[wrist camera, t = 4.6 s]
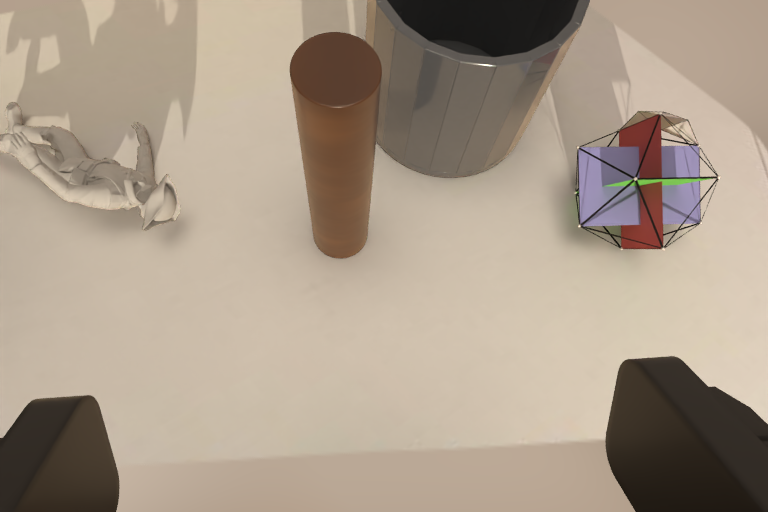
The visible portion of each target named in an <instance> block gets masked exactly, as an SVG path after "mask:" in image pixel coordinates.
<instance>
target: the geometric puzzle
mask: <svg viewBox="0 0 768 512" xmlns="http://www.w3.org/2000/svg"><path fill="white" fill-rule="evenodd" d="M661 130H663V131H665V132H667V133H670V134H672V135H675V136H677V137H679V138H682V139H684V140H685V141H686V140H687V141H689V142H691V143H694V144H689V143H688V142H687V141H686V142H687V143H684V142H679V141H674V140H669V139H663V138H661ZM616 132H617V133H616ZM616 132H614V133H616V135H617V134H618V133H619V147H609V145H610V144H611V143H612V141H613V140H614V138H615V137H616V135H615V136H614V138H613V139H612V141H611V142H610V143H609V145H608V146H607V147H582V146H580V147H579V146H577V149H578V152H577V165H578V185H579V188H578V189H577V191H578V190H579V192H577V191H575V192H574V194H577V195H576V201H577V196H578V197H579V212H578V218H579V225H578V227H582V228H583V229H585V228H587V227H583V226H603V227H604V226H614V225H621V236H617V235H613V234H610V233H609V231H608V230H607V229H606V228H605V227H604V229H605V230H606V231H607V232H608V233H606V232H602V231H598V230H595V229H591V228H587V229H590V230H594V231H598V232H602V233H605V234H609V235H610V236H611V237H612V238H613V236H616V237H620V238H621V246H620V245H619V244H618V242H617V241H616V240H615V239H614V238H613V240H614V241H615V242H616V243H617V244H618V246H619V248H620V250H623V249H662V250H665V248H666V247H667V246H666V245H667V244H668V243H669V242H670V240H671V239H672V238H673V236H674V235H675V234H676V233H677V231H679V230H682V229H685V228H688V227H691V226H694V225H696V226H697V224H698V225H699V224H702V222H701V221H702V220H701V214H700V202H701V200H702V199H703V198H704V197H705V195H706V194H707V193H708V191H709V190H710V189H711V188H712V186H713V185H714V184H715V182H716V181H717V180H718V179H720V178H721V176H718V175H717V173H715V172H716V171H715V170H714V171H715V172H714V171H713V170H712V169H711V168H710V166H709V165H708V164H707V163H706V162H705V161H704V160H703V159H702V158H701V157H700V156H699V147H700V146H701V145H700V144H698V142H697V140H696V137H695V135H694V133H693V130H692V128H691V125H690V123H689V121H688V120H687V119H684V118H681V117H678V116H675V115H672V114H669V113H666V112H651V111H638V112H637V113H636V114H635V115H634V116H633V117H632V118H631V119H630V120H629V121H628V122H627V123H626V124H625V125H624V126H623V127H622V128H621V129H618V131H616ZM612 134H613V133H612ZM609 135H611V134H609ZM609 135H607V136H609ZM604 137H606V136H604ZM604 137H602V138H604ZM599 139H601V138H599ZM599 139H597V140H599ZM661 139H662V140H668V141H673V142H678V143H683V144H688V145H689V146H661ZM595 141H596V140H595ZM592 142H594V141H592ZM592 142H590V143H592ZM587 144H589V143H587ZM587 144H585V145H587ZM695 144H696V145H695ZM690 145H694V146H690ZM583 146H584V145H583ZM700 149H701V148H700ZM702 152H703V151H702ZM704 155H705V154H704ZM699 157H700V158H701V159H702V160H703V161H704V162H705V163H706V164H707V165H708V167H709V168H710V169H711V170H712V171H713V172H714V173H715V174H716V175H717V177H700V158H699ZM705 157H706V156H705ZM706 158H707V157H706ZM707 160H708V159H707ZM708 161H709V160H708ZM709 163H710V162H709ZM711 166H712V165H711ZM712 168H713V167H712ZM713 169H714V168H713ZM713 178H717V179H716V181H715V182H714V183H713V185H712V186H711V187H710V188H709V190H708V191H707V192H706V194H705V195H704V196H703V197H702V199H701V200H700V181H702V180H707V179H713ZM717 182H718V181H717ZM576 184H577V172H576ZM716 184H717V183H716ZM715 186H716V185H715ZM714 189H715V188H714ZM713 191H714V190H713ZM578 194H579V195H578ZM712 194H713V193H712ZM711 196H712V195H711ZM710 199H711V198H710ZM709 201H710V200H709ZM708 204H709V203H708ZM707 206H708V205H707ZM577 210H578V203H577ZM705 211H706V210H705ZM704 213H705V212H704ZM703 216H704V215H703ZM702 218H703V217H702ZM690 223H697V224H694V225H691V226H688V227H684V228H681V229H680V227H681V226H682V225H683V224H690ZM663 224H681V226H680V227H679V228H678V230H675V231H672V232H669V233H673V232H675V233H674V235H673V236H672V237H671V239H670V240H669V241H668V242H667V244H666V245H665V246H664V247H663V235H666V234H669V233H666V234H663ZM696 226H695V227H696ZM587 229H585V230H587ZM692 229H693V228H692ZM587 231H588V230H587ZM689 231H690V230H689ZM689 231H688V232H689ZM589 232H590V231H589ZM591 233H592V232H591ZM686 233H687V232H686ZM686 233H685V234H686ZM593 234H594V233H593ZM595 235H596V234H595ZM612 235H613V236H612ZM683 235H684V234H683ZM683 235H682V236H683ZM597 236H598V235H597ZM598 237H600V236H598ZM600 238H602V237H600ZM679 238H680V237H679ZM679 238H678V239H679ZM602 239H603V238H602ZM604 240H605V239H604ZM676 240H677V239H676ZM676 240H675V241H676ZM606 241H607V240H606ZM608 242H609V241H608ZM673 242H674V241H673ZM673 242H672V243H673ZM610 243H611V242H610ZM612 244H613V243H612ZM670 244H671V243H670ZM670 244H669V245H670ZM613 245H615V244H613ZM615 246H617V245H615ZM618 246H617V247H618Z"/></svg>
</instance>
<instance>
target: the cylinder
mask: <svg viewBox="0 0 768 512" xmlns="http://www.w3.org/2000/svg"><path fill="white" fill-rule="evenodd" d="M290 77H291V84H292V91H293V98H294V104H295V111H296V118H297V125H298V132H299V139H300V146H301V153H302V160H303V167H304V174H305V180H306V187H307V194H308V201H309V208H310V215H311V222H312V229H313V236H314V240H315V243H316V245H317V247H318V248H319V249H320V250H321V251H322V252H323V253H325V254H326V255H328V256H331V257H334V258H347V257H350V256H353V255H355V254H356V253H358V252H359V251H360V250H361V249H362V248H363V246H364V245H365V243H366V240H367V234H368V223H369V212H370V201H371V190H372V178H373V167H374V156H375V145H376V134H377V123H378V112H379V101H380V90H381V79H382V66H381V62H380V59H379V57H378V55H377V53H376V52H375V50H374V49H373V48H372V47H371V46H370V45H369V44H368V43H367V42H365V41H364V40H362V39H361V38H358V37H356V36H354V35H351V34H347V33H341V32H329V33H323V34H319V35H316V36H314V37H312V38H310V39H308V40H306V41H305V42H304V43H303V44H301V45H300V47H299V48H298V49H297V50H296V52H295V53H294V55H293V57H292V60H291V63H290Z"/></svg>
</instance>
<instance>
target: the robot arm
mask: <svg viewBox="0 0 768 512" xmlns="http://www.w3.org/2000/svg"><path fill="white" fill-rule="evenodd" d="M606 452H607V457H608V461H609V464H610V467H611V470H612V472H613V474H614V476H615V478H616V480H617V481H618V483H619V485H620V486H621V488H622V490H623V491H624V493H625V495H626V496H627V498H628V500H629V501H630V503H631V505H632V506H633V508H634V510H635V511H636V512H768V424H767V423H766V422H765V421H764V420H762V419H761V418H760V417H759V416H758V415H757V414H756V413H755V412H754V411H753V410H752V409H751V408H750V407H748V406H746V405H745V404H743V403H741V402H740V401H738V400H736V399H735V398H733V397H731V396H730V395H728V394H726V393H725V392H723V391H721V390H720V389H718V388H716V387H708V386H707V385H706V384H705V383H704V382H703V381H702V380H701V379H700V378H699V377H698V376H697V375H696V374H695V373H694V372H693V371H692V370H691V369H690V368H689V367H688V366H687V365H686V364H685V363H684V362H683V361H682V360H681V359H679V358H677V357H674V356H670V357H656V358H642V359H627V360H625V361H624V362H623V363H622V364H621V366H620V368H619V371H618V375H617V381H616V386H615V391H614V396H613V401H612V406H611V411H610V416H609V422H608V427H607V432H606ZM118 499H119V476H118V471H117V467H116V464H115V460H114V457H113V453H112V449H111V446H110V442H109V439H108V435H107V432H106V428H105V425H104V421H103V418H102V414H101V410H100V407H99V404H98V402H97V400H96V399H95V398H94V397H93V396H90V395H86V396H72V397H57V398H43V399H35V400H33V401H31V402H30V403H29V404H28V405H27V406H26V407H25V408H24V410H23V411H22V413H21V414H20V415H19V417H18V418H17V419H16V421H15V422H14V424H13V425H12V426H11V428H10V429H9V430H8V432H7V433H6V435H5V436H4V437H3V438H0V512H116V510H117V505H118Z"/></svg>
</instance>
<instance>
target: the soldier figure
mask: <svg viewBox="0 0 768 512" xmlns="http://www.w3.org/2000/svg"><path fill="white" fill-rule="evenodd" d="M5 116H6V118H7V119H8V129H6V131H5V134H0V152H3V153H9V154H12V156H14V157H16V158H17V160H18V161H19V162H20V163H21V164H22V165H23V166H24V167H25V168H27V169H28V170H29V171H31V172H32V173H33V174H34V175H35V176H36V177H37V178H39V179H40V180H41V181H42V182H43V183H44V184H45V185H46V186H48V187H49V188H50V189H51V190H52V191H53V192H55V193H56V194H57V195H58V196H59V197H60V198H62V199H63V200H65V201H68V202H76V203H80V204H82V205H85V206H89V207H95V208H99V209H100V208H102V209H107V210H113V209H120V208H125V209H126V210H128V209H131V207H137V206H139V207H140V210H141V216H142V218H144V224H143V228H142V230H143V231H146V230H149V229H151V228H152V227H155V226H158V225H161V224H164V223H167V222H169V221H175V220H176V218H177V216H178V215H179V213H180V210H181V207H180V204H179V201H178V196H177V191H176V188H175V186H174V184H173V182H172V181H171V179H170V177H169V175H168V174H166V175H167V176H166V175H165V177H164V178H163V179H162V181H161V182H160V184H159V185H158V184H156V182H155V179H154V170H153V162H152V156H151V148H150V146H149V140H148V134H147V131H146V129H145V127H144V126H143V125H142V124H140V123H138V122H137V123H134V124H135V125H136V126H137V128H138V129H137V128H136V127H135V126H134V125H131V126H132V127H133V128H134V129H135V130H136V133H137V138H138V141H139V143H140V146H139V147H138V155H137V160H138V161H137V165H136V170H133V169H131V168H126V167H122V166H120V164H119V163H118V162H116V161H115V160H112V159H107V158H104V160H102V161H101V160H93V159H89V158H88V157H87V155H86V153H85V151H84V149H83V147H82V145H81V144H80V143H79V141H78V140H77V139H76V137H75V136H74V135H73V134H72V133H71V132H69V131H68V130H65V129H63V128H61V127H56V126H51V127H31V126H24V125H23V124H22V113H21V108H20V106H19V105H18V104H17V103H15V102H11V103H9V104H8V105H7V107H6V110H5ZM31 142H32V143H31ZM33 143H35V144H33ZM36 144H46V145H51V148H52V149H55V156H54V155H53V154H51V153H50V152H49V151H48V150H46V149H44V148H42V147H39V146H37V145H36ZM141 204H144V205H141ZM136 210H137V209H136ZM139 215H140V214H139Z"/></svg>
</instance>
